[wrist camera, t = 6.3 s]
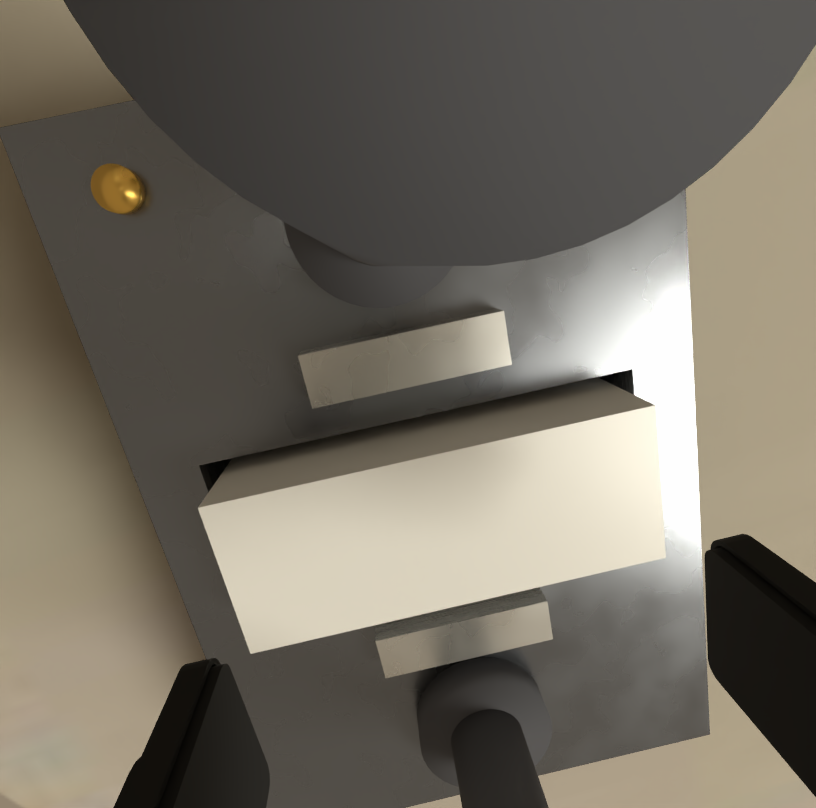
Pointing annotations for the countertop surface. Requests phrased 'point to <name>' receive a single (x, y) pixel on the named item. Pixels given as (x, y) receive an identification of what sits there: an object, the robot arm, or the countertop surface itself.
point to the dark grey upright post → (450, 116)
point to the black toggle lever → (486, 733)
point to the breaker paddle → (437, 511)
